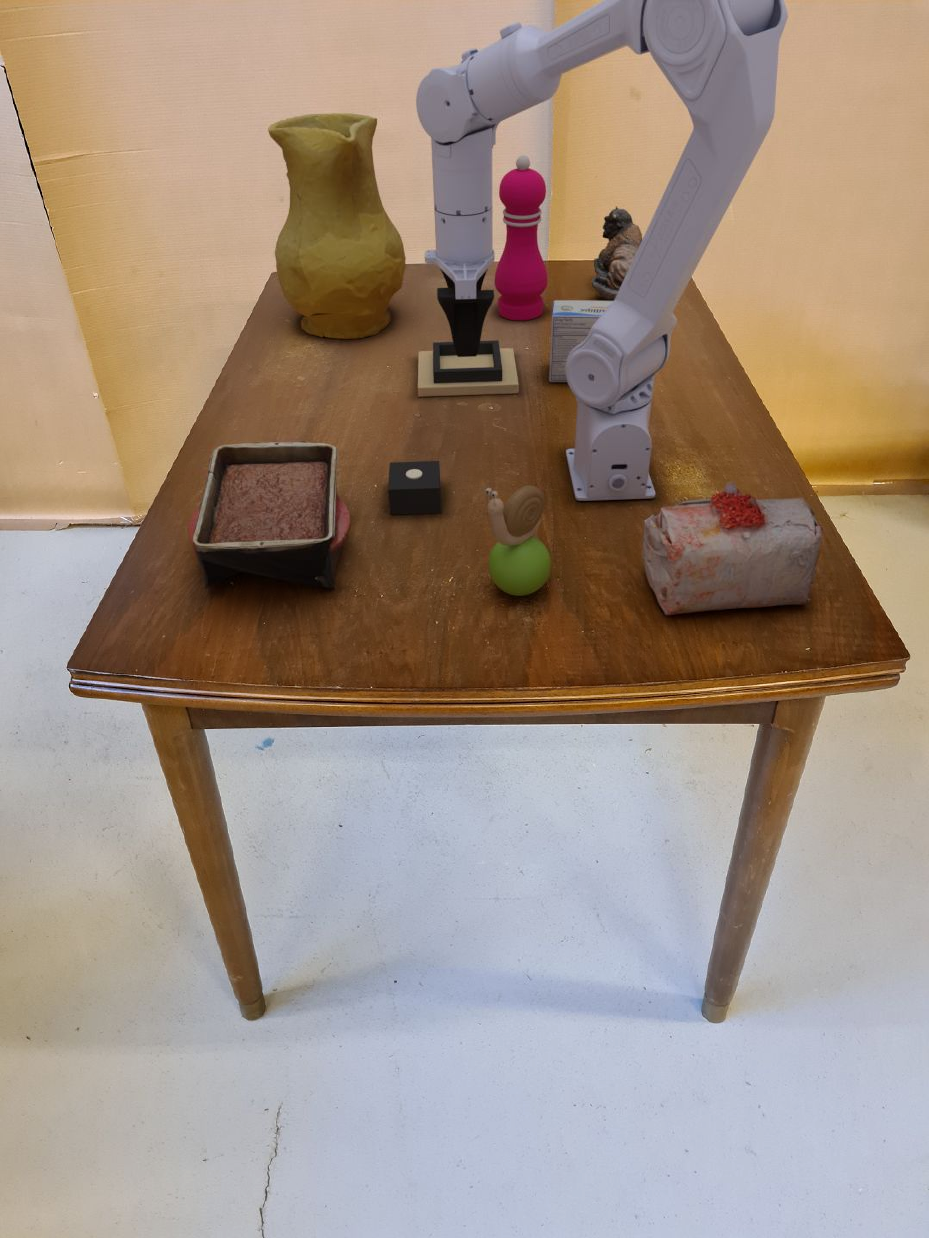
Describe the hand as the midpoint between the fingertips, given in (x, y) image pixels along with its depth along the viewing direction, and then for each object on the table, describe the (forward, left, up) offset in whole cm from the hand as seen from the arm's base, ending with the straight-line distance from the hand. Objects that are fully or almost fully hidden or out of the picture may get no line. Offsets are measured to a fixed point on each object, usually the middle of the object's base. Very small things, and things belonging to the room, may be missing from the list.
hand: (466, 339), depth 97 cm
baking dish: (-24, +19, -10) cm, 32 cm away
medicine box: (+10, -14, -10) cm, 20 cm away
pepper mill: (+30, -8, -10) cm, 32 cm away
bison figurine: (+36, -22, -10) cm, 43 cm away
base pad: (+11, 0, -10) cm, 14 cm away
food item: (-32, -21, -10) cm, 40 cm away
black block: (-16, +6, -10) cm, 20 cm away
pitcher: (+30, +16, -10) cm, 35 cm away
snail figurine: (-31, -3, -10) cm, 33 cm away
